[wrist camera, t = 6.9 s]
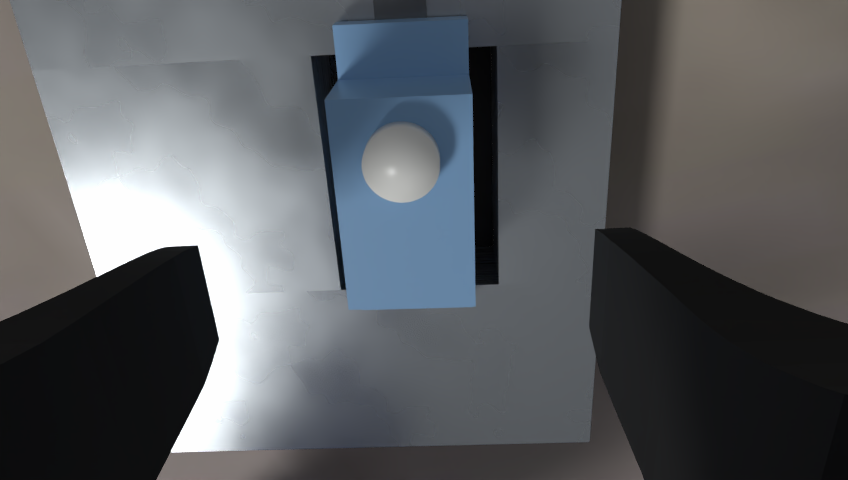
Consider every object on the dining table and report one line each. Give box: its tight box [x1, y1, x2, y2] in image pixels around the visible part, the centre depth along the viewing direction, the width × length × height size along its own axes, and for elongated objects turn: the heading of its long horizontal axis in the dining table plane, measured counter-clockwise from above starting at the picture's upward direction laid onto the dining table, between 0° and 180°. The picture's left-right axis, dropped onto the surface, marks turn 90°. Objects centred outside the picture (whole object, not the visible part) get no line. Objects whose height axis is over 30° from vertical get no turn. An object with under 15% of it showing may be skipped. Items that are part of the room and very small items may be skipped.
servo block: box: [324, 16, 476, 310], centre depth 16 cm, size 7×3×6 cm, turn 3°
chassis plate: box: [10, 0, 622, 452], centre depth 18 cm, size 16×14×2 cm
